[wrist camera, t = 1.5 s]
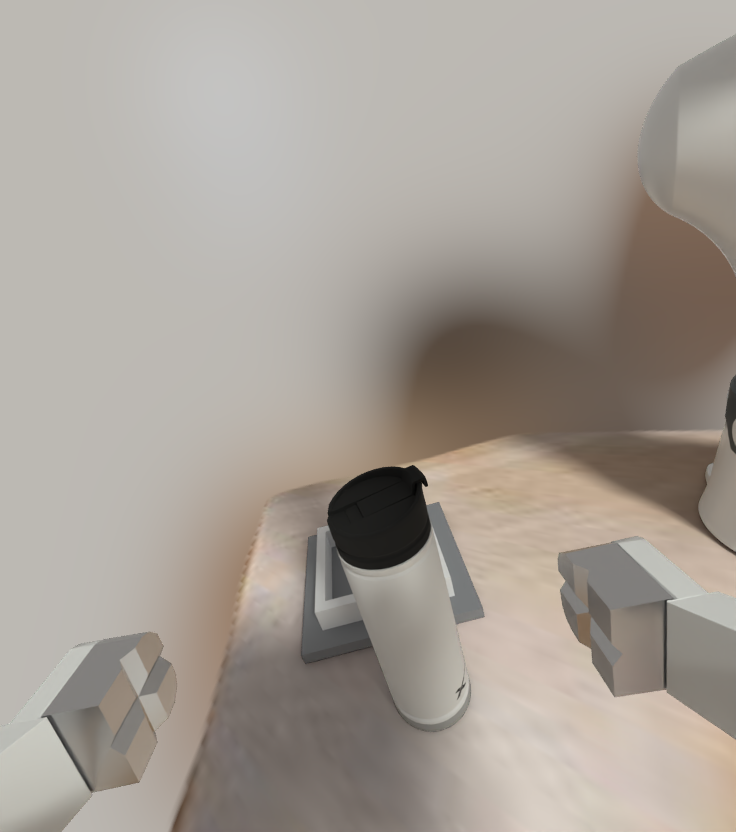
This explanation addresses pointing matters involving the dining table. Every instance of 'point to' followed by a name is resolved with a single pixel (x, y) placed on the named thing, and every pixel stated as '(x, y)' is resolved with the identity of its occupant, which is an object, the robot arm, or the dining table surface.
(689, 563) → the dining table surface
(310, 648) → the grey square tray
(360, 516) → the travel mug
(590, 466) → the dining table surface
